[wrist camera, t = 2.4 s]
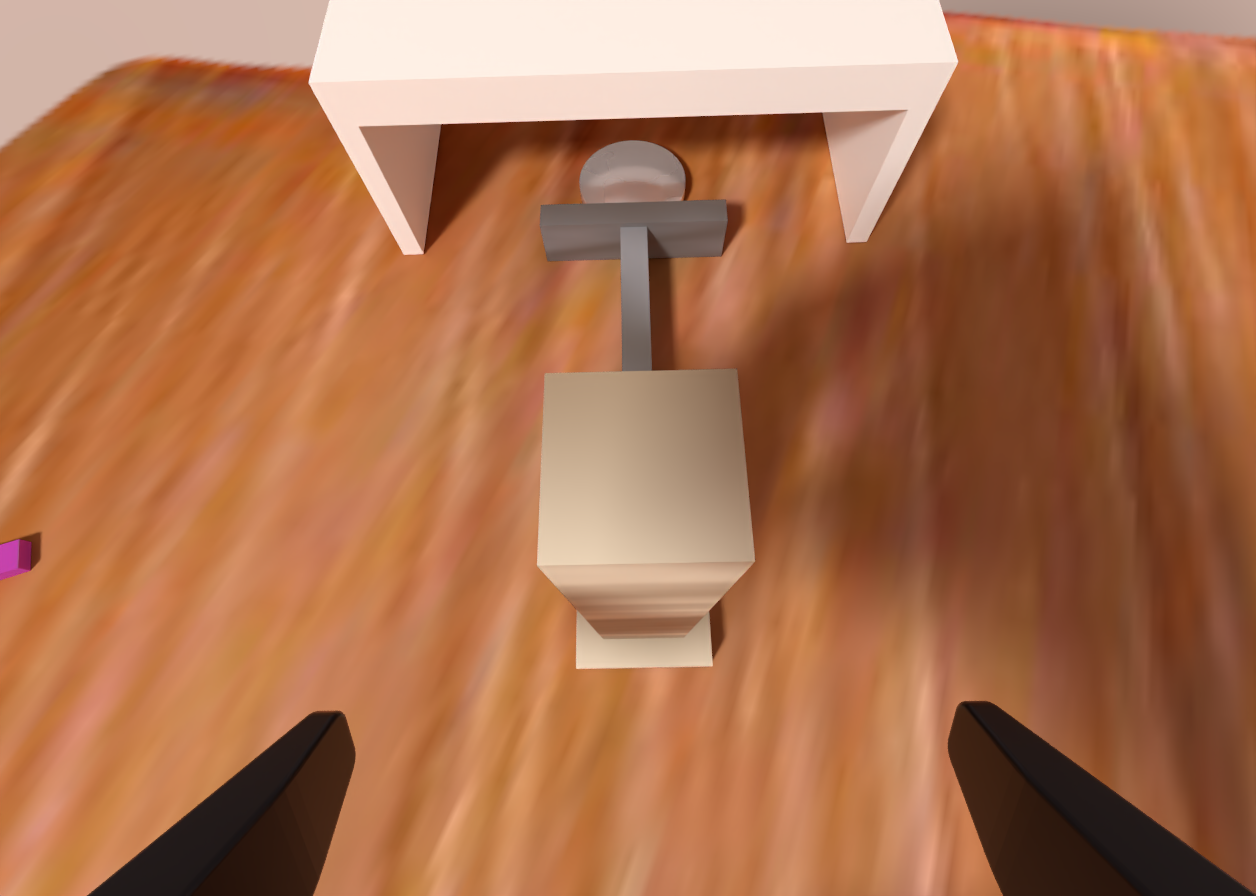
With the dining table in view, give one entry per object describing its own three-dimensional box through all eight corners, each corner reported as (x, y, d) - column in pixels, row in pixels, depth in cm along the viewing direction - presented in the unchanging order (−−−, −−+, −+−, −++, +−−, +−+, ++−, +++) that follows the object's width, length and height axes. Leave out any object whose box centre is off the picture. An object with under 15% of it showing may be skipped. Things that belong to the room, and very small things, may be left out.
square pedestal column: (758, 666, 18) (983, 634, 6) (530, 670, 18) (317, 645, 6) (719, 236, 24) (795, -204, 12) (548, 241, 24) (456, -191, 12)
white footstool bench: (866, 242, 24) (958, 62, 17) (403, 254, 24) (308, 82, 17) (837, 100, 27) (906, -103, 20) (425, 112, 27) (351, -83, 20)
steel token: (705, 195, 26) (707, 177, 25) (634, 256, 24) (634, 240, 24) (631, 144, 27) (630, 124, 26) (560, 200, 26) (557, 181, 25)
